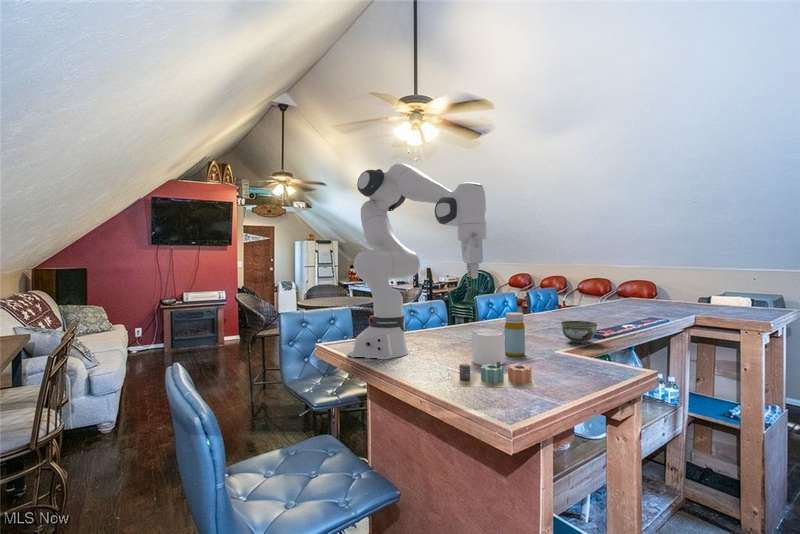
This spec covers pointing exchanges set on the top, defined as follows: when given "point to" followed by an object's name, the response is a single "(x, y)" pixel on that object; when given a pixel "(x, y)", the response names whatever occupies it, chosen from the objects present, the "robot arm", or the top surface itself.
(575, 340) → the bowl
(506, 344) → the bottle
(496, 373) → the gear
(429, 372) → the top surface
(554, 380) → the top surface
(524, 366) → the gear
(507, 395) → the top surface
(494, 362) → the mug
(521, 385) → the gear board
